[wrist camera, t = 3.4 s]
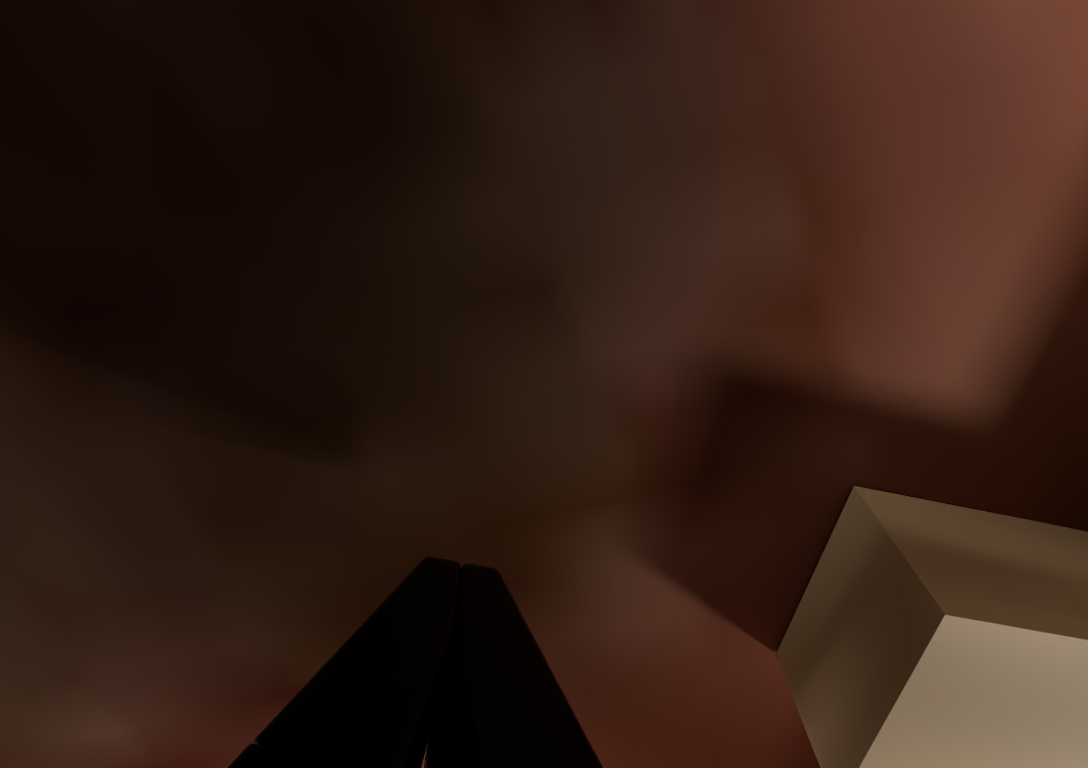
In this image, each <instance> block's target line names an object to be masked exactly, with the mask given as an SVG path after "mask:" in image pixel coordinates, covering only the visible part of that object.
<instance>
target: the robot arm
mask: <svg viewBox="0 0 1088 768" xmlns="http://www.w3.org/2000/svg"><path fill="white" fill-rule="evenodd" d="M426 746H427V748H426ZM425 751H426V756H425V763H424V768H603V767H602V765H601V763H600V761H599V759H598V757H597V755H596V754H595V752H594V750H593V748H592V746H591V744H590V742H589V740H588V739H587V737H586V735H585V733H584V731H583V729H582V727H581V725H580V723H579V722H578V720H577V718H576V716H575V714H574V712H573V710H572V708H571V706H570V705H569V703H568V701H567V699H566V697H565V695H564V693H563V691H562V689H561V688H560V686H559V684H558V682H557V680H556V678H555V676H554V674H553V672H552V671H551V669H550V667H549V665H548V663H547V661H546V659H545V657H544V656H543V654H542V652H541V650H540V648H539V646H538V644H537V642H536V640H535V639H534V637H533V635H532V633H531V631H530V629H529V627H528V625H527V623H526V622H525V620H524V618H523V616H522V614H521V612H520V610H519V608H518V606H517V605H516V603H515V601H514V599H513V597H512V595H511V593H510V591H509V589H508V588H507V586H506V584H505V582H504V580H503V578H502V576H501V574H500V573H499V571H498V570H496V569H494V568H490V567H485V566H479V565H474V564H465V565H463V566H462V568H461V566H460V564H459V563H458V562H456V561H452V560H446V559H441V558H436V557H426V558H424V559H423V560H422V561H421V562H420V563H419V564H418V565H417V566H416V567H415V568H414V570H413V571H412V572H411V573H410V574H409V575H408V576H407V577H406V578H405V579H404V580H403V581H402V582H401V583H400V585H399V586H398V587H397V588H396V589H395V590H394V591H393V592H392V593H391V594H390V595H389V596H388V597H387V598H386V599H385V601H384V602H383V603H382V604H381V605H380V606H379V607H378V608H377V609H376V610H375V611H374V612H373V613H372V614H371V616H370V617H369V618H368V619H367V620H366V621H365V622H364V623H363V624H362V625H361V626H360V627H359V628H358V629H357V630H356V632H355V633H354V634H353V635H352V636H351V637H350V638H349V639H348V640H347V641H346V642H345V643H344V644H343V645H342V647H341V648H340V649H339V650H338V651H337V652H336V653H335V654H334V655H333V656H332V657H331V658H330V659H329V660H328V661H327V663H326V664H325V665H324V666H323V667H322V668H321V669H320V670H319V671H318V672H317V673H316V674H315V675H314V676H313V678H312V679H311V680H310V681H309V682H308V683H307V684H306V685H305V686H304V687H303V688H302V689H301V690H300V691H299V692H298V694H297V695H296V696H295V697H294V698H293V699H292V700H291V701H290V702H289V703H288V704H287V705H286V706H285V707H284V709H283V710H282V711H281V712H280V713H279V714H278V715H277V716H276V717H275V718H274V719H273V720H272V721H271V722H270V723H269V725H268V726H267V727H266V728H265V729H264V730H263V731H262V732H261V733H260V734H259V735H258V736H257V737H256V739H255V741H254V744H250V745H248V746H247V748H246V749H245V750H244V751H243V752H242V753H241V754H240V755H239V756H238V757H237V758H236V759H235V760H234V761H233V763H232V764H231V765H230V766H229V767H228V768H421V767H422V763H423V759H424V755H425Z"/></svg>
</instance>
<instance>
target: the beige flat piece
mask: <svg viewBox="0 0 1088 768" xmlns="http://www.w3.org/2000/svg"><path fill="white" fill-rule="evenodd" d="M776 657H777V660H778V662H779V665H780V667H781V670H782V672H783V675H784V677H785V680H786V682H787V685H788V687H789V690H790V692H791V695H792V697H793V700H794V703H795V705H796V708H797V710H798V713H799V715H800V718H801V720H802V723H803V725H804V728H805V730H806V733H807V735H808V738H809V740H810V743H811V745H812V748H813V750H814V753H815V755H816V758H817V760H818V763H819V765H820V768H1088V532H1086V531H1081V530H1076V529H1071V528H1066V527H1062V526H1057V525H1052V524H1047V523H1042V522H1037V521H1032V520H1027V519H1021V518H1016V517H1011V516H1006V515H1001V514H996V513H991V512H986V511H981V510H975V509H970V508H965V507H960V506H955V505H950V504H945V503H940V502H935V501H929V500H924V499H919V498H914V497H909V496H904V495H899V494H894V493H889V492H883V491H878V490H873V489H868V488H863V487H858V486H854V487H853V489H852V491H851V493H850V495H849V498H848V500H847V502H846V504H845V506H844V508H843V511H842V513H841V515H840V517H839V519H838V521H837V523H836V526H835V528H834V530H833V532H832V534H831V536H830V539H829V541H828V543H827V545H826V547H825V549H824V552H823V554H822V556H821V558H820V560H819V562H818V564H817V567H816V569H815V571H814V573H813V575H812V577H811V580H810V582H809V584H808V586H807V588H806V590H805V592H804V595H803V597H802V599H801V601H800V603H799V605H798V608H797V610H796V612H795V614H794V616H793V618H792V621H791V623H790V625H789V627H788V629H787V631H786V633H785V636H784V638H783V640H782V642H781V644H780V646H779V649H778V651H777V653H776Z"/></svg>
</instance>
